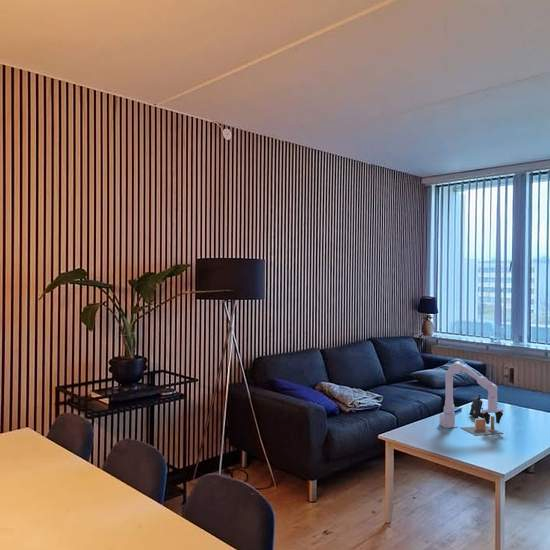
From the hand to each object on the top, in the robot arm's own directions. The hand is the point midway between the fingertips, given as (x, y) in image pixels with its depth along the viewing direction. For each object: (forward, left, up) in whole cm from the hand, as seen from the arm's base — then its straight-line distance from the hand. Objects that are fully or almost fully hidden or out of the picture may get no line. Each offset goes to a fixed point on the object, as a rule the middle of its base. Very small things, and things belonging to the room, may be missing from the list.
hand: (492, 423), depth 318 cm
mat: (-6, +3, -5) cm, 9 cm away
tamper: (0, 0, -5) cm, 5 cm away
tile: (-6, +5, -5) cm, 9 cm away
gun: (+11, +29, -6) cm, 32 cm away
